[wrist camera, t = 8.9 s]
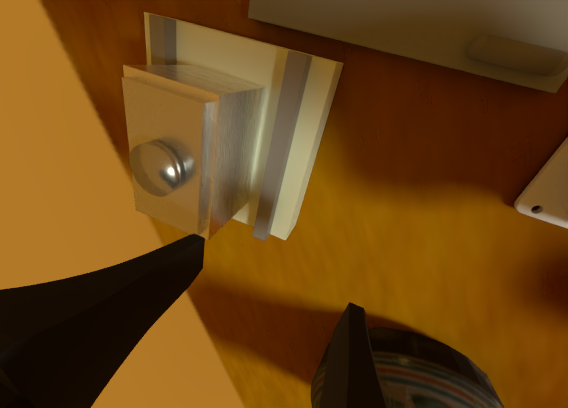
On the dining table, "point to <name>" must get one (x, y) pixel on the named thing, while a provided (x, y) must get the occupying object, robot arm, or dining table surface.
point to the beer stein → (420, 374)
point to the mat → (443, 33)
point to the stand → (276, 113)
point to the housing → (191, 143)
